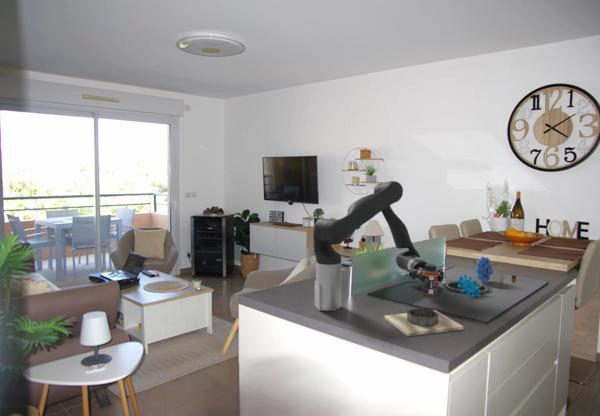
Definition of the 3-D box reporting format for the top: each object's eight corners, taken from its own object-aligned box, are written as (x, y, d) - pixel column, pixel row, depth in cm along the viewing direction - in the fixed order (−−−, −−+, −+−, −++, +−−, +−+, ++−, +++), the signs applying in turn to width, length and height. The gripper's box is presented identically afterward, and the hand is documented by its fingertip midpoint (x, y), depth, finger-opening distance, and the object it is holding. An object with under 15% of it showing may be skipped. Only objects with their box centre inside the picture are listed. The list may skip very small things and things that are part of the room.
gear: (464, 295, 168) (455, 273, 174) (455, 302, 172) (448, 280, 178) (487, 296, 171) (478, 275, 177) (478, 303, 175) (470, 282, 181)
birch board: (407, 336, 133) (407, 333, 133) (384, 318, 148) (384, 315, 148) (463, 329, 138) (463, 326, 138) (435, 312, 153) (435, 310, 153)
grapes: (486, 287, 185) (487, 259, 183) (471, 283, 190) (472, 257, 189) (499, 282, 192) (500, 256, 191) (484, 279, 197) (485, 253, 196)
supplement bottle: (435, 297, 156) (436, 267, 154) (419, 295, 159) (420, 265, 158) (439, 293, 161) (440, 264, 159) (423, 291, 164) (424, 262, 163)
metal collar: (416, 327, 137) (417, 320, 136) (401, 317, 146) (401, 310, 146) (444, 324, 139) (444, 317, 139) (427, 314, 149) (427, 307, 149)
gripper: (401, 258, 173) (413, 268, 156) (436, 259, 173) (452, 269, 156) (400, 277, 173) (412, 289, 157) (436, 277, 174) (451, 289, 157)
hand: (432, 279), depth 157 cm, fingers closed on supplement bottle, 6 cm apart
